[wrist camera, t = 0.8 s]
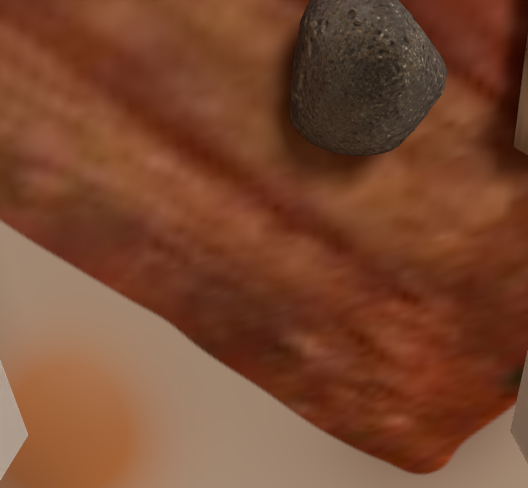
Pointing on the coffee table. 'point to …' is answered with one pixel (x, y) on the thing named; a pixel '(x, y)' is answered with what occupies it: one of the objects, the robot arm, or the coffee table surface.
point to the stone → (362, 76)
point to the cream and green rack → (523, 110)
